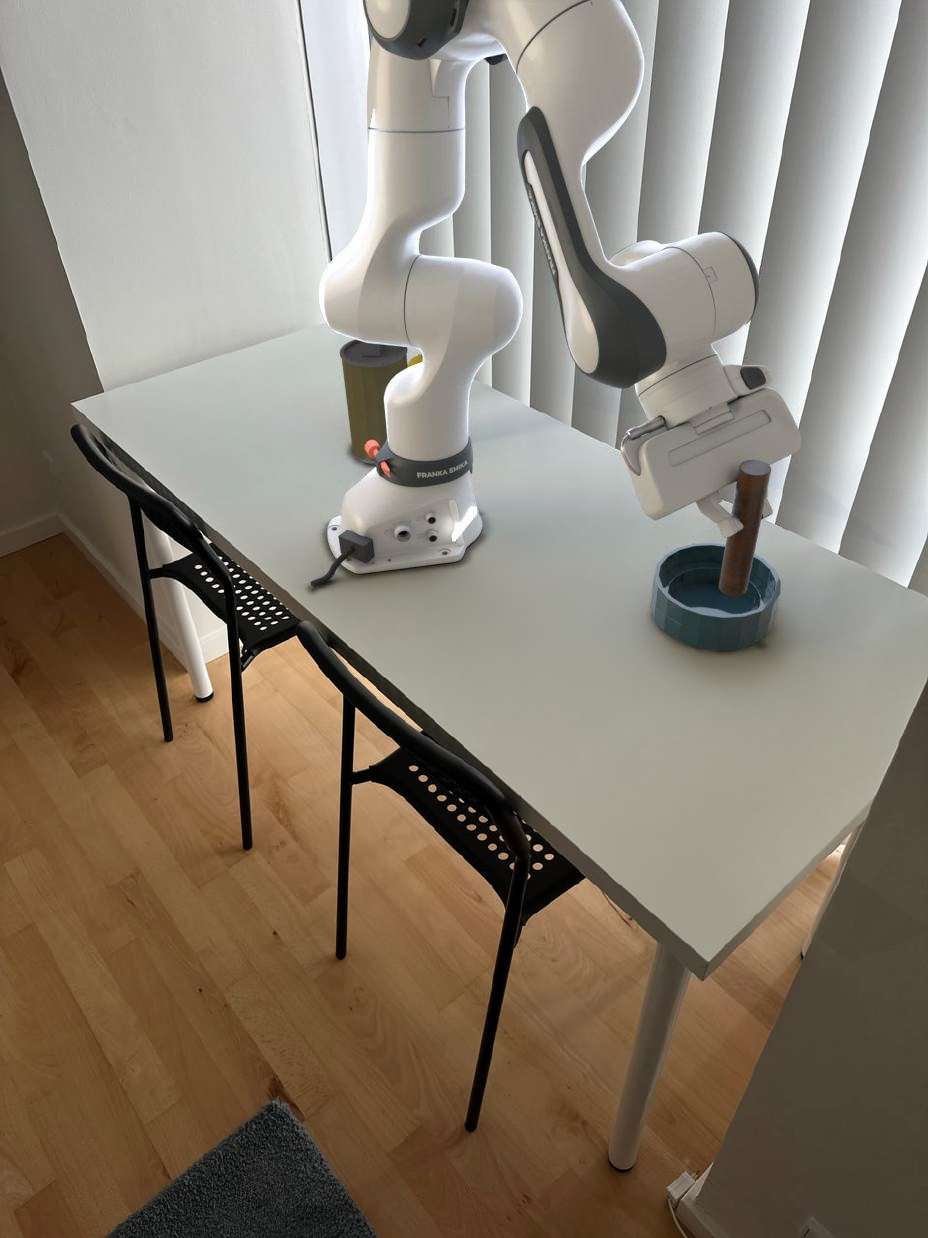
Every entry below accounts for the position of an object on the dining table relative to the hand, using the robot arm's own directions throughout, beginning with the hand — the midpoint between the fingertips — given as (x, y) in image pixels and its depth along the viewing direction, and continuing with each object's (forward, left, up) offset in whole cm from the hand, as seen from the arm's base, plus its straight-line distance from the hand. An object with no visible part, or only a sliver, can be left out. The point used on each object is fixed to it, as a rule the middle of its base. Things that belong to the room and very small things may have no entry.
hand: (749, 526), depth 96 cm
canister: (-19, +70, -23) cm, 76 cm away
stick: (0, +1, -8) cm, 8 cm away
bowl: (+7, +12, -23) cm, 27 cm away
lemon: (-7, +85, -23) cm, 88 cm away
